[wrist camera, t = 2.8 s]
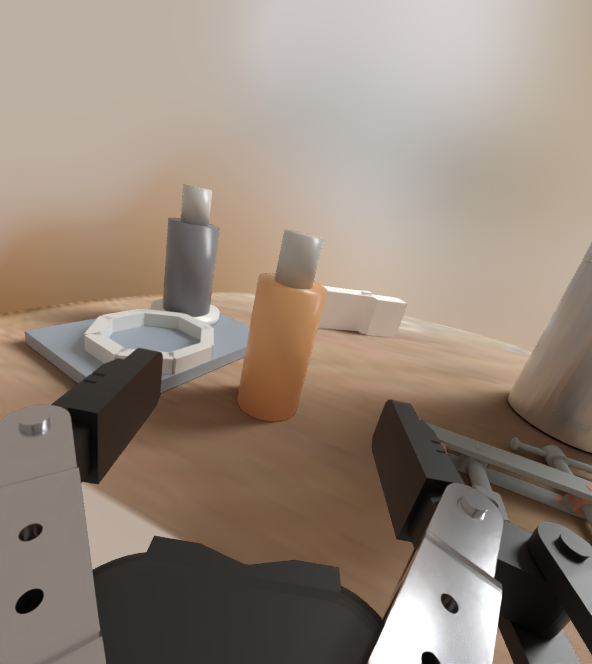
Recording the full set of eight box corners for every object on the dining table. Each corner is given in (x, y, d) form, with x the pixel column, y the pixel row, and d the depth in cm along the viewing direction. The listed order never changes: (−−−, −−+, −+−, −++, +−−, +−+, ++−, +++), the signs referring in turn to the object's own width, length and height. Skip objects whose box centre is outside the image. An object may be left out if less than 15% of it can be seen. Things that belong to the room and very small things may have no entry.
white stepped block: (289, 328, 39) (299, 283, 37) (315, 308, 50) (324, 272, 48) (412, 369, 36) (431, 322, 34) (413, 339, 46) (427, 301, 44)
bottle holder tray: (192, 308, 37) (205, 188, 32) (270, 345, 32) (298, 211, 28) (24, 342, 24) (3, 145, 19) (115, 412, 19) (117, 175, 14)
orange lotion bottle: (261, 378, 26) (292, 228, 22) (307, 403, 24) (351, 244, 20) (224, 399, 23) (252, 223, 18) (274, 430, 21) (319, 243, 16)
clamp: (417, 474, 17) (413, 390, 26) (403, 504, 18) (404, 412, 27) (768, 614, 14) (625, 462, 23) (732, 642, 15) (608, 485, 24)
